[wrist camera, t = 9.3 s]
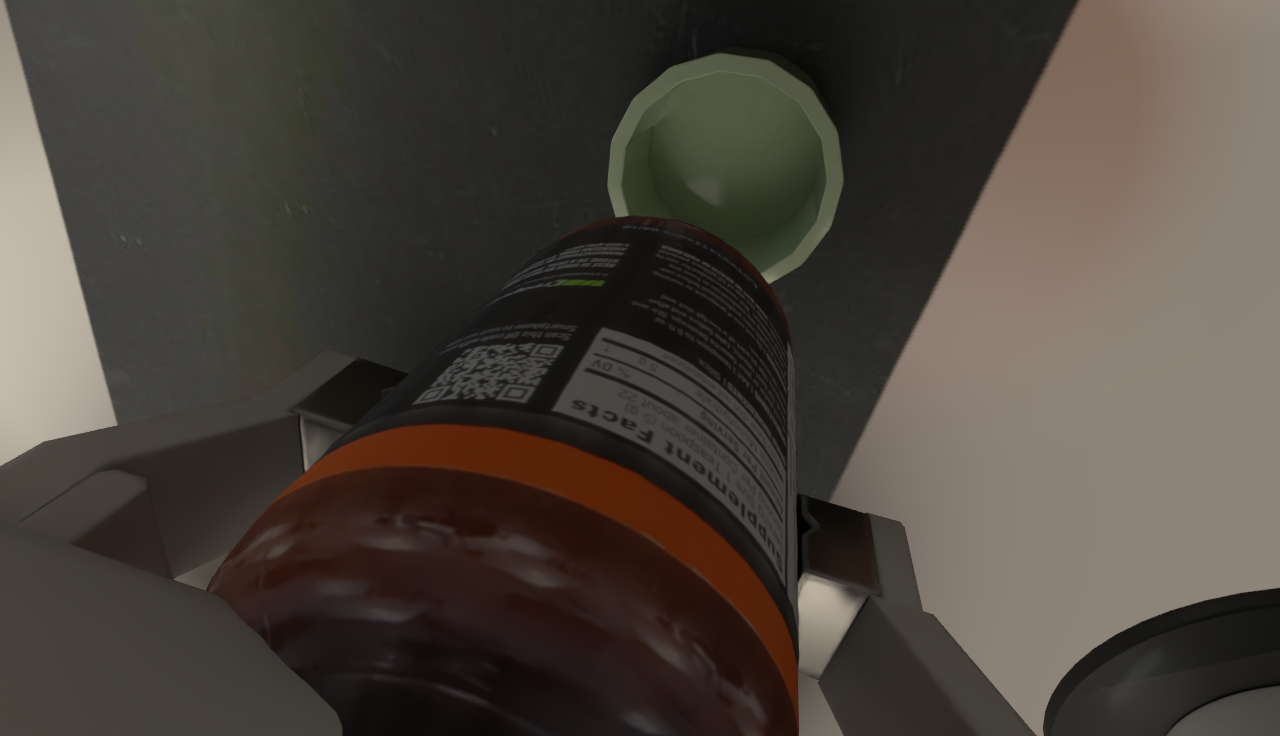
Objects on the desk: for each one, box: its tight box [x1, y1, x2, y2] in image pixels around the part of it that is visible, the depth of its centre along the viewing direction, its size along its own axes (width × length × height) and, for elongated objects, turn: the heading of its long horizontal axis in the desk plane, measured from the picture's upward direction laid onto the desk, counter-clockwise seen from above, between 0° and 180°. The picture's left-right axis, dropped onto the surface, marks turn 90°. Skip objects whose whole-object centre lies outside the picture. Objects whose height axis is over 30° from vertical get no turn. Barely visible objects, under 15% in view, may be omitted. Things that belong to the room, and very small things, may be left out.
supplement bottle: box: [206, 215, 800, 736], centre depth 9 cm, size 6×6×11 cm
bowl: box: [607, 46, 844, 284], centre depth 27 cm, size 9×9×6 cm
